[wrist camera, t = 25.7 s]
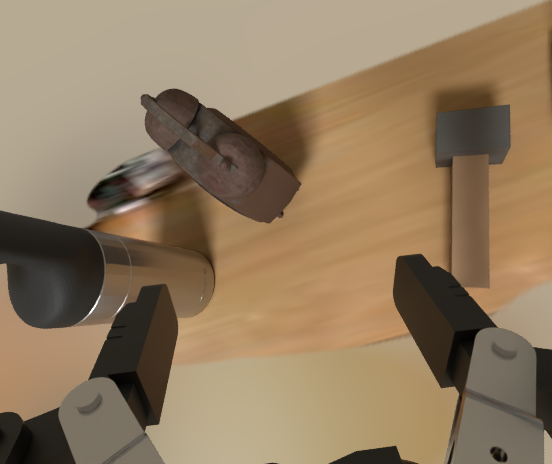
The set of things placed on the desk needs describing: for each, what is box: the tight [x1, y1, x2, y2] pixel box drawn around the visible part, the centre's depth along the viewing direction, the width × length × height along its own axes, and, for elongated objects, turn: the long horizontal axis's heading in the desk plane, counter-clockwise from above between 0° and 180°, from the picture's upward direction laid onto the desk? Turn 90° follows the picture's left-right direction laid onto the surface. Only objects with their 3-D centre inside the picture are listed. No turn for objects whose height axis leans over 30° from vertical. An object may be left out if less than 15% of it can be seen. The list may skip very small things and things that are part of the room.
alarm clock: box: [141, 89, 301, 223], centre depth 37 cm, size 14×7×20 cm, turn 48°
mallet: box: [436, 105, 510, 289], centre depth 34 cm, size 6×16×4 cm, turn 175°
